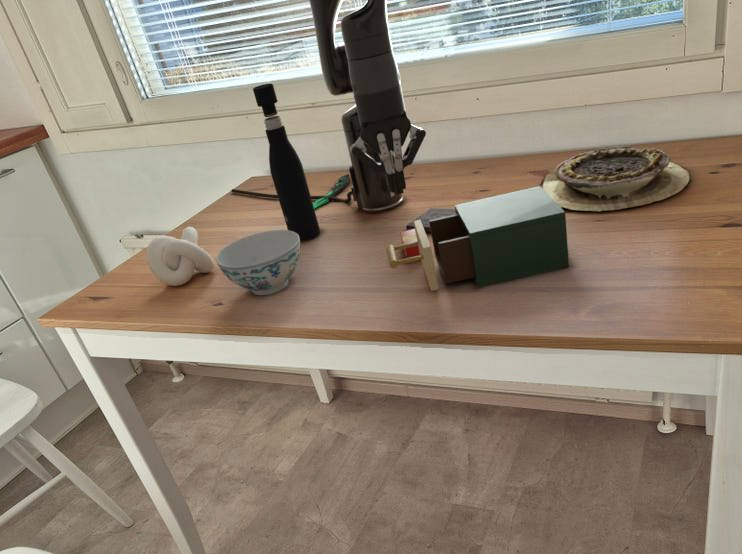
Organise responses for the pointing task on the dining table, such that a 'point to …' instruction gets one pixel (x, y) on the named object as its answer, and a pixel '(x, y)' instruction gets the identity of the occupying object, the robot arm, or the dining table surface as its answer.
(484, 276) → the cabinet
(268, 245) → the chinaware
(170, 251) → the white knot sculpture
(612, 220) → the dining table surface
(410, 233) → the red yellow striped block
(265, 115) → the black water bottle
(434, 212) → the chocolate bar
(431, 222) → the drawer
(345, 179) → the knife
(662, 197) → the pie
